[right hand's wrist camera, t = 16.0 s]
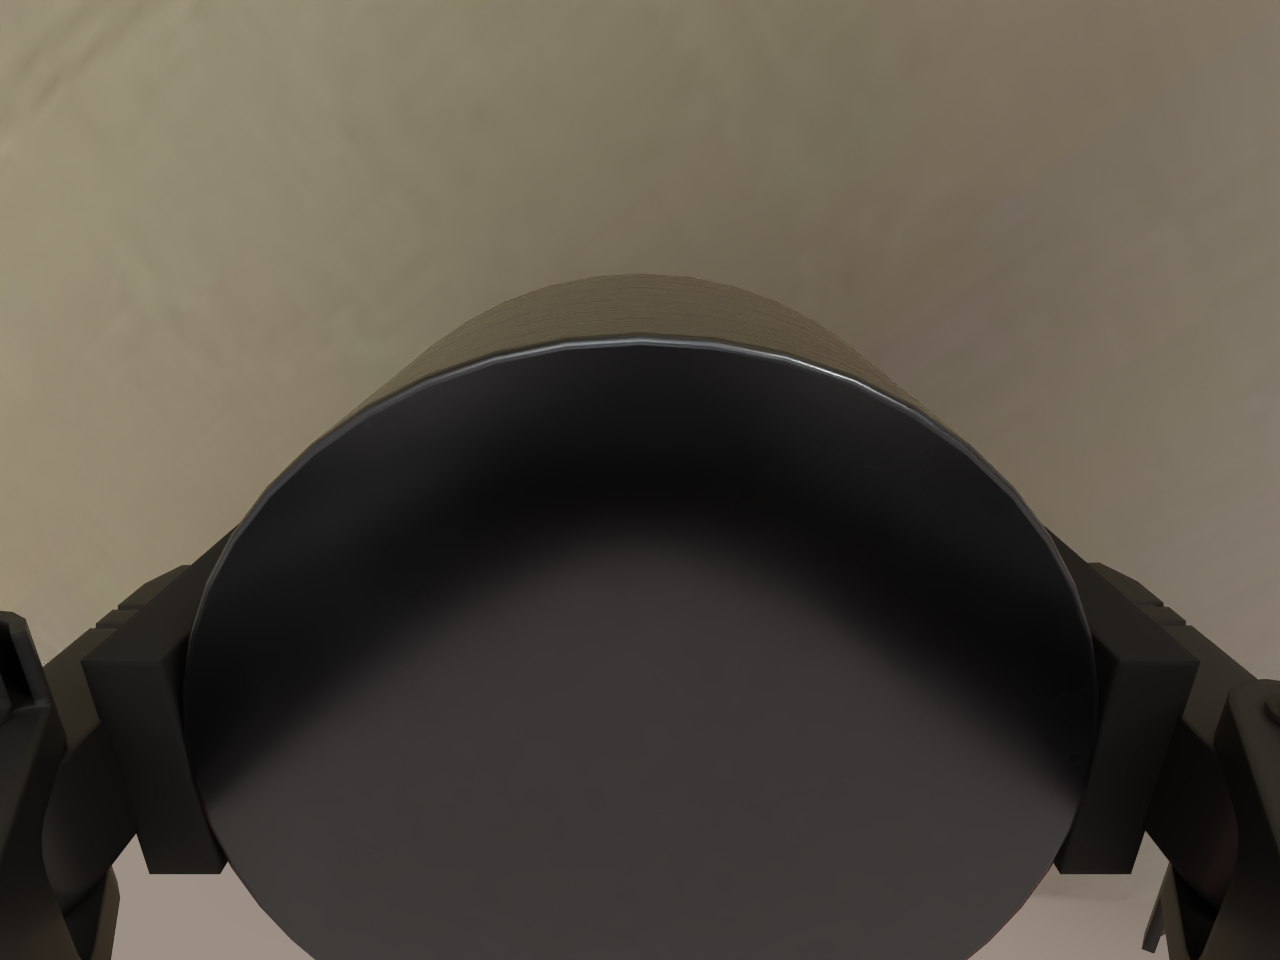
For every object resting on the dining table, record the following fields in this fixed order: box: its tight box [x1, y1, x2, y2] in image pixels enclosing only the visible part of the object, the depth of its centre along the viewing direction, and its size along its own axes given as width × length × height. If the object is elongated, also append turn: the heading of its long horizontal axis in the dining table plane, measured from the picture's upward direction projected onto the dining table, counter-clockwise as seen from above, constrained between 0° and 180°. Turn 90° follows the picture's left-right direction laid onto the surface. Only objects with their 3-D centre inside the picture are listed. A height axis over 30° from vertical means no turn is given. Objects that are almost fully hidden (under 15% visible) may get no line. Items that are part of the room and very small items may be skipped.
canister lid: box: [183, 274, 1099, 960], centre depth 9 cm, size 9×9×4 cm
